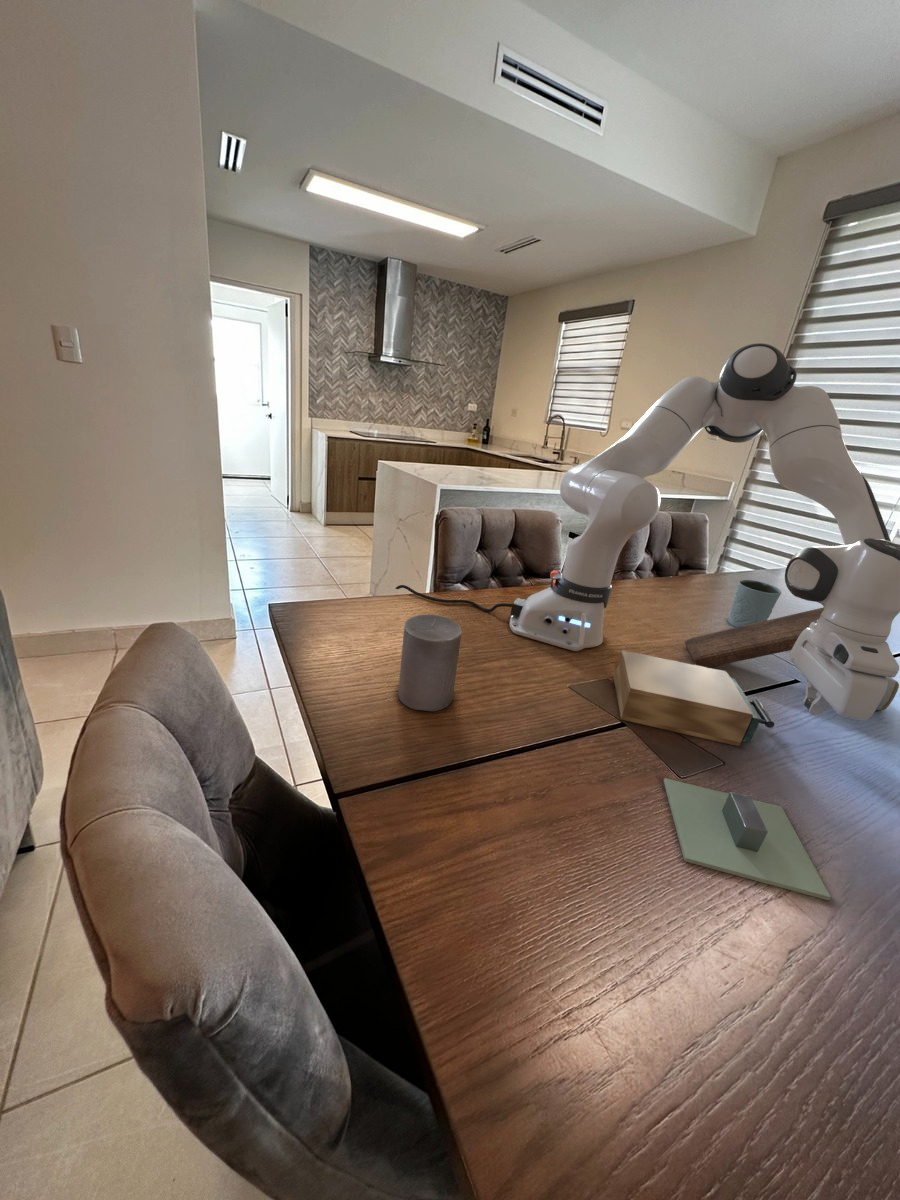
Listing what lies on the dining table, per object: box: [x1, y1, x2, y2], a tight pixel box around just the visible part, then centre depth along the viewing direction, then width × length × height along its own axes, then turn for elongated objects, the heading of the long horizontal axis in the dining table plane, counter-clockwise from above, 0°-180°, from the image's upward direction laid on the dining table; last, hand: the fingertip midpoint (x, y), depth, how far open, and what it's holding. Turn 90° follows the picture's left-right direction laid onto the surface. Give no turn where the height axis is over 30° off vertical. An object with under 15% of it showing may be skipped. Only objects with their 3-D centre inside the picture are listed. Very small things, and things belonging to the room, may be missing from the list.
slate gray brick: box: [722, 791, 768, 852], centre depth 61 cm, size 3×6×4 cm, turn 167°
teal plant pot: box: [727, 579, 782, 628], centre depth 130 cm, size 10×10×12 cm
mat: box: [663, 777, 832, 901], centre depth 62 cm, size 16×14×1 cm
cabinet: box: [613, 649, 753, 747], centre depth 87 cm, size 20×15×7 cm
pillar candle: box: [397, 614, 463, 712], centre depth 80 cm, size 10×10×15 cm
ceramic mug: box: [875, 677, 900, 712], centre depth 99 cm, size 11×8×8 cm
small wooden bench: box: [684, 606, 824, 668], centre depth 106 cm, size 10×16×30 cm
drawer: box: [730, 677, 776, 743], centre depth 86 cm, size 23×13×5 cm, turn 77°
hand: (810, 710), depth 82 cm, fingers closed
